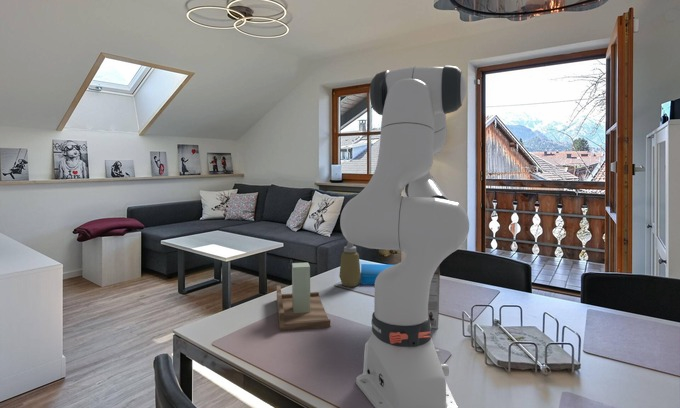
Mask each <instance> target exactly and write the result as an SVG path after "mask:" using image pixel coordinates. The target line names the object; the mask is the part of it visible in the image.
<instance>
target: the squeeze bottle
mask: <svg viewBox="0 0 680 408" xmlns="http://www.w3.org/2000/svg"><path fill="white" fill-rule="evenodd" d="M338 276H339V279H340V282H341V284H342V286H344V287H349V288H350V287H357V286H358V285H359V283H360V281H361V263H360V254H359V253H358V252H357V246H356V245H354V244H351V243H349V242H348V241H347V243H346V246H344V247H343V252H342V253H341V257H340V266H339V275H338Z"/></svg>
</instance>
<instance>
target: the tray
mask: <svg viewBox="0 0 680 408" xmlns="http://www.w3.org/2000/svg"><path fill="white" fill-rule="evenodd" d="M276 304H277V305H276V307H277V317H278V325H279V326H278V327H279V331H280V332H283V331H294V330H295V331H297V330H308V329H320V328H321V329H322V328H323V329H324V328H331V319H329V318H328V315H327V313H326V310H325V308H324V305H323V303H322V300H321V298H320V292H319V291H314V292H313V291H312V292H311V291H310V312H304V313H294V312H293V307H292V293H282V288H281V284H276Z"/></svg>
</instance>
